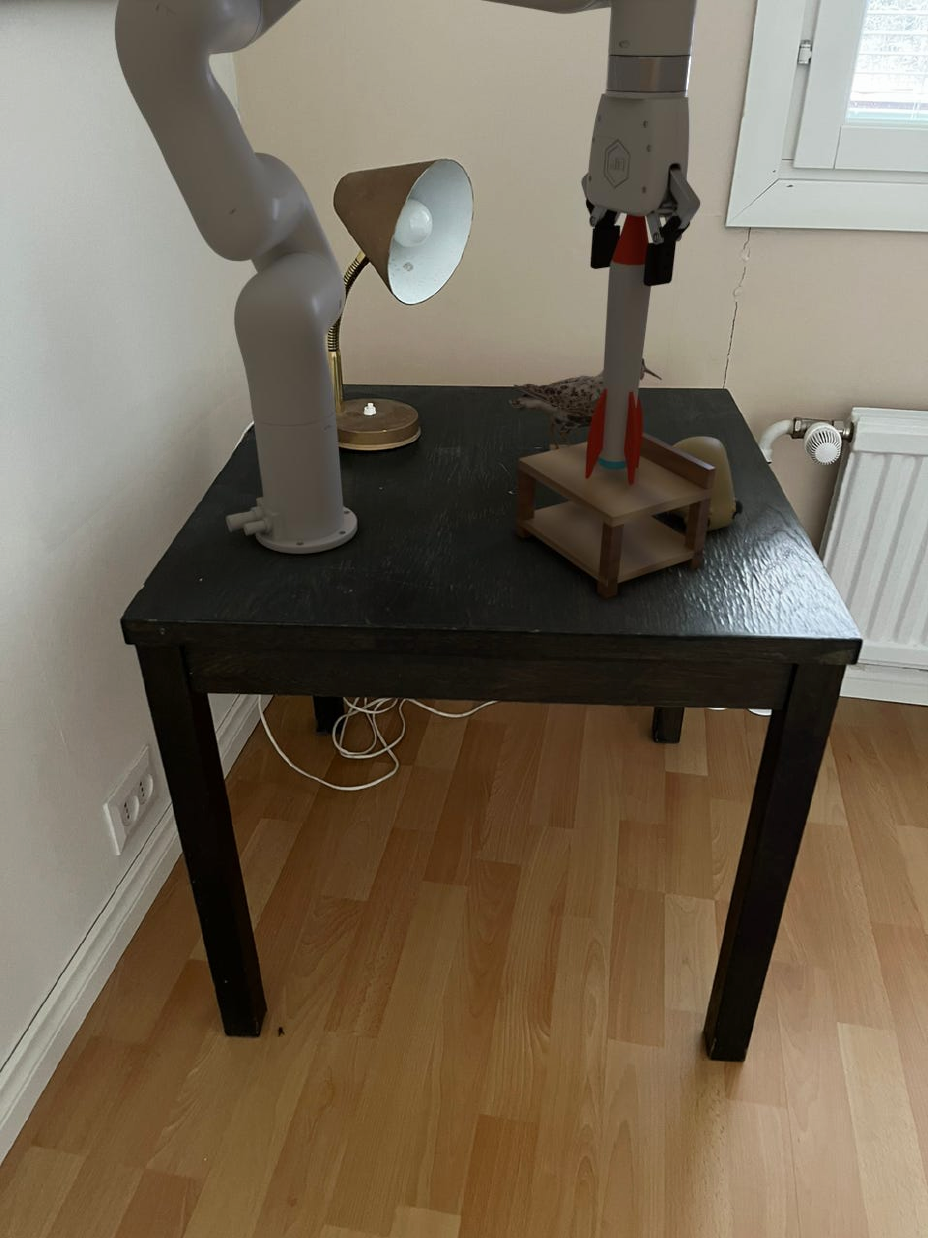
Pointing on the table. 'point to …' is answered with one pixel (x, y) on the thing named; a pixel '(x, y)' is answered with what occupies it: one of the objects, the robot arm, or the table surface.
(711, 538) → the table surface
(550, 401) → the stuffed bird
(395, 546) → the table surface
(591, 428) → the toy rocket
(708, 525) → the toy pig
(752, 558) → the table surface
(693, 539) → the rack
